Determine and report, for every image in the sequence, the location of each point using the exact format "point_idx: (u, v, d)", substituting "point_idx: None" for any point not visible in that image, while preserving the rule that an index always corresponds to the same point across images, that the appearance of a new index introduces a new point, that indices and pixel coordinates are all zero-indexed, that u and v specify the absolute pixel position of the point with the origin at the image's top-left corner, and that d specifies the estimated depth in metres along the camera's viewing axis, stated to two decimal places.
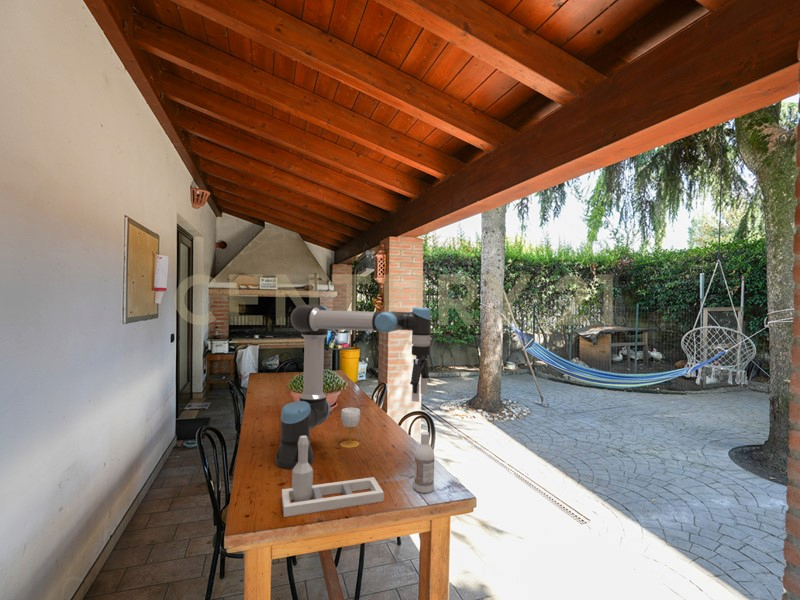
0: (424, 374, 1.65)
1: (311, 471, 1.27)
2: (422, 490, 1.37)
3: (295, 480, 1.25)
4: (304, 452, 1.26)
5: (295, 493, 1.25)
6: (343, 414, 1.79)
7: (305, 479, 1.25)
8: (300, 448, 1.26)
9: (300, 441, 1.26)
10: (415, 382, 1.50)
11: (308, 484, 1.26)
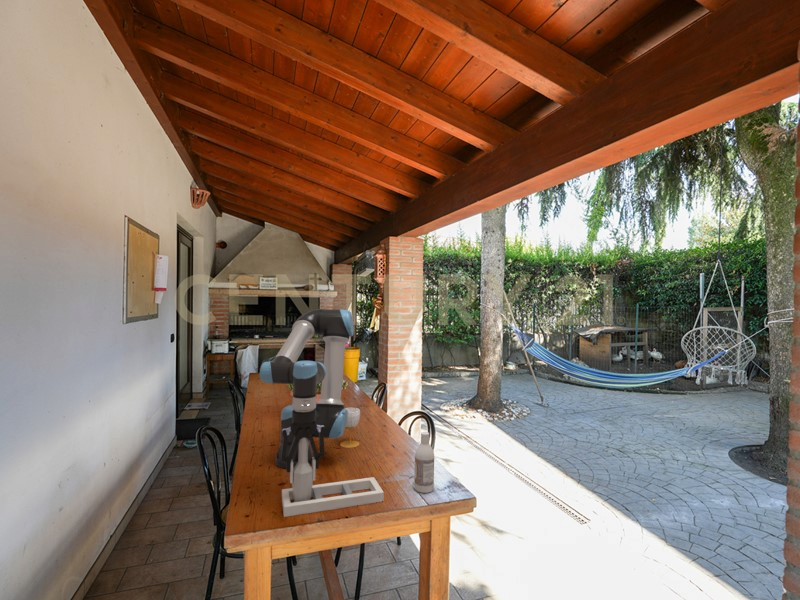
0: (313, 451, 1.28)
1: (311, 471, 1.27)
2: (422, 490, 1.37)
3: (295, 480, 1.25)
4: (304, 452, 1.26)
5: (295, 493, 1.25)
6: None
7: (305, 478, 1.25)
8: (300, 448, 1.26)
9: (300, 441, 1.26)
10: None
11: (308, 484, 1.26)
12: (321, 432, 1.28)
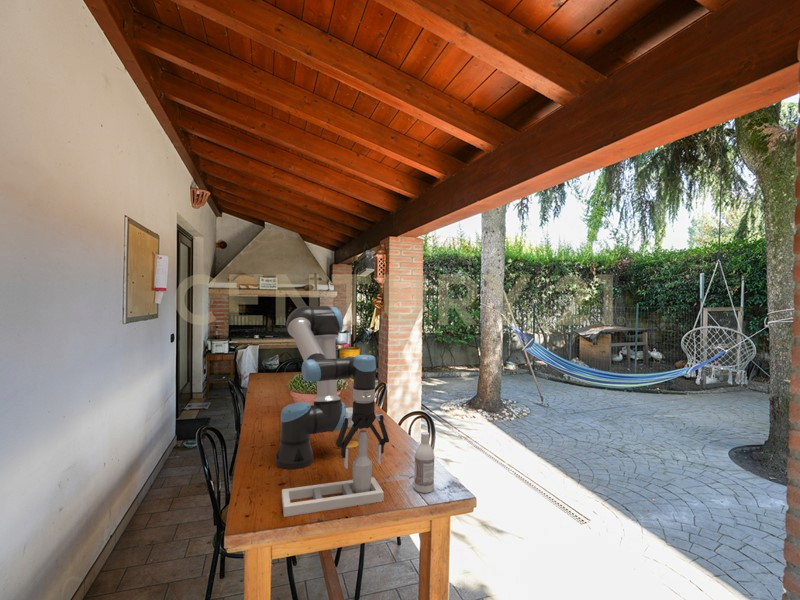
0: (377, 438, 1.36)
1: (371, 464, 1.34)
2: (422, 490, 1.37)
3: (356, 472, 1.32)
4: (364, 446, 1.33)
5: (356, 485, 1.32)
6: None
7: (365, 471, 1.32)
8: (361, 442, 1.33)
9: (360, 435, 1.33)
10: (337, 444, 1.31)
11: (368, 476, 1.32)
12: (381, 420, 1.35)
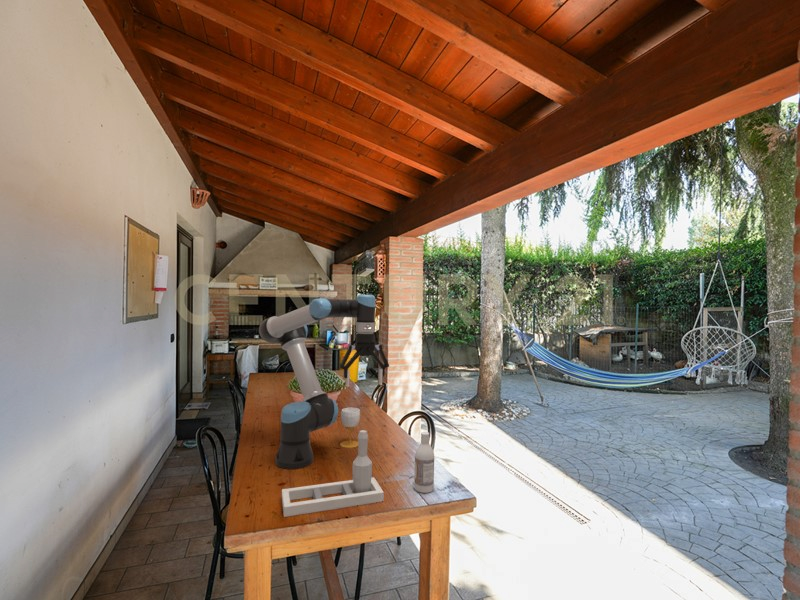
0: (378, 364, 1.60)
1: (370, 464, 1.34)
2: (422, 490, 1.37)
3: (356, 472, 1.32)
4: (364, 446, 1.33)
5: (356, 485, 1.32)
6: (343, 414, 1.79)
7: (365, 471, 1.32)
8: (360, 442, 1.33)
9: (360, 435, 1.33)
10: (340, 366, 1.54)
11: (368, 476, 1.32)
12: (380, 349, 1.59)
